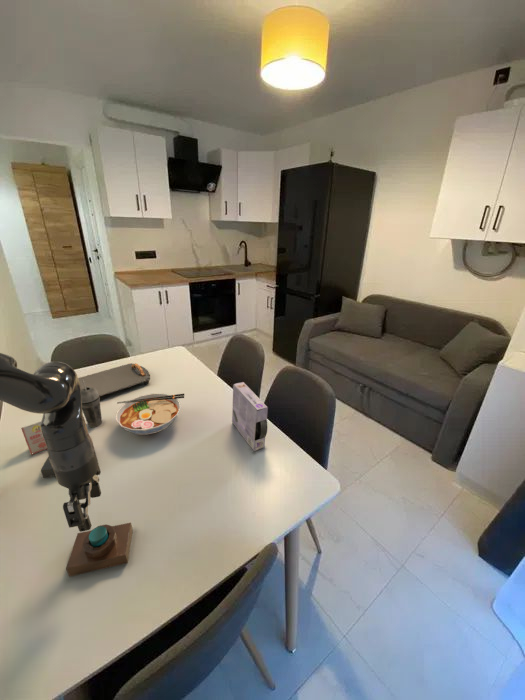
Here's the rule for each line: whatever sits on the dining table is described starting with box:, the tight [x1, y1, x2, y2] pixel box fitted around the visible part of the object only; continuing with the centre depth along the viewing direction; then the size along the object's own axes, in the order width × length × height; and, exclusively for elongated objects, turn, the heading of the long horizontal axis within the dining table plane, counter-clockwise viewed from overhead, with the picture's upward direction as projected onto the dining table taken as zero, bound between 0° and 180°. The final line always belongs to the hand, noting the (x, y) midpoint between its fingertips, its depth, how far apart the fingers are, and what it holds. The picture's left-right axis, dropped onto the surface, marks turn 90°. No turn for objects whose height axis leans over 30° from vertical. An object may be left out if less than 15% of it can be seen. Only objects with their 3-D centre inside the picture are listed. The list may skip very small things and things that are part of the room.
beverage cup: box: [81, 379, 103, 428], centre depth 107 cm, size 7×7×20 cm
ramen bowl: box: [115, 393, 185, 436], centre depth 109 cm, size 25×23×8 cm
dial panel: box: [40, 455, 56, 478], centre depth 92 cm, size 11×9×3 cm
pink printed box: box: [20, 420, 48, 456], centre depth 97 cm, size 4×7×10 cm, turn 132°
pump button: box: [89, 525, 108, 547], centre depth 66 cm, size 4×4×2 cm
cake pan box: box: [231, 381, 269, 452], centre depth 104 cm, size 19×5×18 cm, turn 31°
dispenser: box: [65, 522, 134, 578], centre depth 68 cm, size 12×8×5 cm, turn 104°
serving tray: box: [78, 363, 151, 398], centre depth 134 cm, size 39×23×6 cm, turn 133°
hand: (91, 511), depth 65 cm, fingers open, 8 cm apart
